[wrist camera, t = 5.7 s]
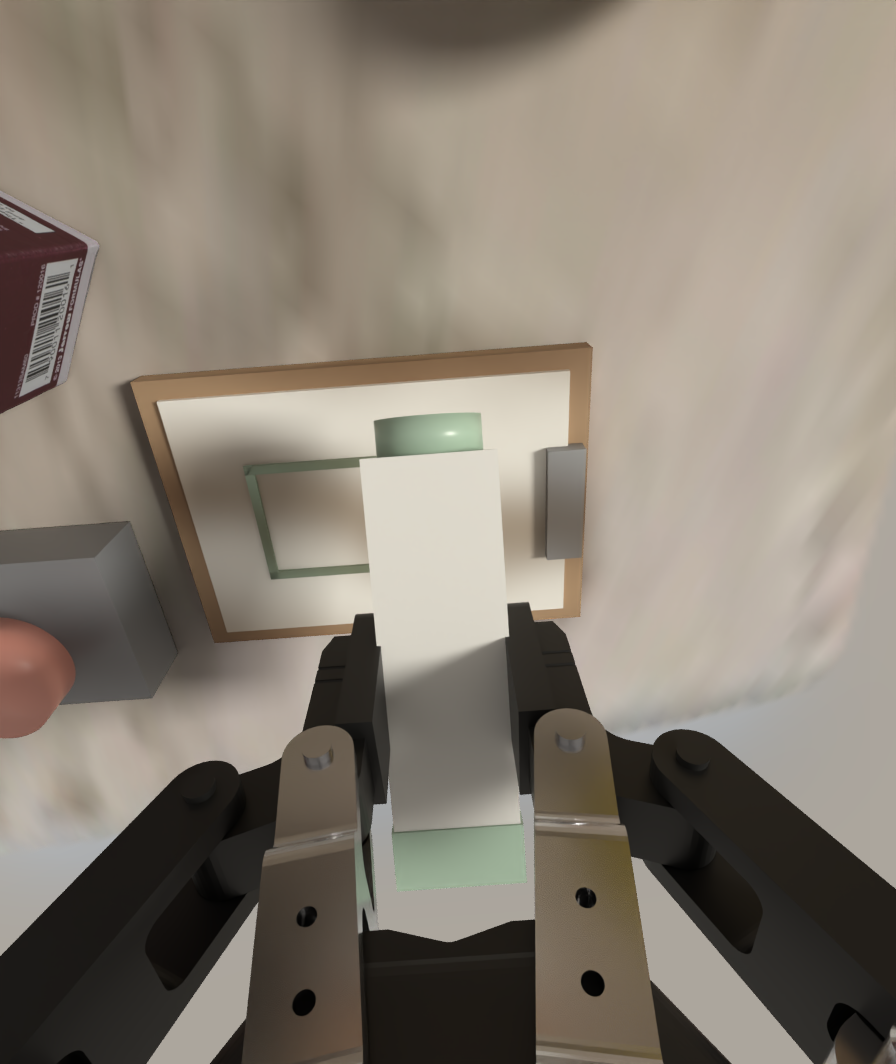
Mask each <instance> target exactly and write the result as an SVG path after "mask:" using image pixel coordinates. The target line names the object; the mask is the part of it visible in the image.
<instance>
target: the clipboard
mask: <svg viewBox="0 0 896 1064" xmlns="http://www.w3.org/2000/svg"><path fill="white" fill-rule="evenodd" d="M592 351H593V347H591V346H590V345H589V344H588V343H587V342H584V343H571V344H558V345H544V346H531V347H518V348H505V349H492V350H478V351H465V352H452V353H439V354H425V355H412V356H399V357H386V358H373V359H359V360H346V361H333V362H320V363H306V364H293V365H280V366H267V367H254V368H240V369H227V370H214V371H201V372H187V373H174V374H161V375H148V376H141V377H139V378H137V379H135V380H134V381H132V382H130V383H131V386H132V389H133V393H134V396H135V399H136V402H137V405H138V408H139V411H140V414H141V417H142V420H143V423H144V427H145V430H146V433H147V436H148V439H149V442H150V445H151V448H152V451H153V454H154V457H155V461H156V464H157V467H158V470H159V473H160V476H161V479H162V482H163V485H164V488H165V491H166V495H167V498H168V501H169V504H170V507H171V510H172V513H173V516H174V519H175V522H176V526H177V529H178V532H179V535H180V538H181V541H182V544H183V547H184V550H185V553H186V556H187V560H188V563H189V566H190V569H191V572H192V575H193V578H194V581H195V584H196V587H197V590H198V594H199V597H200V600H201V603H202V606H203V609H204V612H205V615H206V618H207V621H208V624H209V628H210V631H211V634H212V637H213V640H214V643H221V642H235V641H249V640H263V639H277V638H291V637H305V636H319V635H333V634H347V633H352V628H353V623H354V618H355V615H356V614H365V613H374V612H373V601H372V591H371V580H370V569H369V559H368V548H367V537H366V526H365V516H364V505H363V494H362V484H361V473H360V462H359V459H367V458H377V455H376V444H375V433H374V421H375V420H380V419H386V418H394V417H403V416H413V415H426V414H441V413H465V412H474V413H481V421H482V436H483V450H484V449H498V465H499V481H500V497H501V513H502V530H503V546H504V562H505V578H506V594H507V603H520V602H529V604H530V608H531V612H532V616H533V620H542V619H556V618H570V617H580V609H581V588H582V566H583V545H584V523H585V502H586V480H587V458H588V437H589V415H590V394H591V372H592Z"/></svg>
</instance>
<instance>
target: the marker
mask: <svg viewBox="0 0 896 1064" xmlns="http://www.w3.org/2000/svg"><path fill="white" fill-rule="evenodd" d="M374 433H375V444H376V455H377V458H367V459H359V462H360V473H361V484H362V494H363V505H364V516H365V526H366V537H367V548H368V559H369V569H370V580H371V591H372V601H373V612H374V623H375V633H376V644H377V646H381V654H382V665H383V676H384V686H385V697H386V708H387V719H388V729H389V740H390V762H389V783H390V793H391V804H392V815H393V828H392V843H393V853H394V864H395V875H396V884H397V891H411V890H426V889H441V888H455V887H470V886H484V885H499V884H512V883H513V884H514V883H526V882H527V878H526V862H525V846H524V829H523V821H522V816H521V811H520V804H519V788H518V779H517V773H516V766H515V760H514V753H513V747H512V739H511V723H510V707H509V691H508V675H507V659H506V643H505V637H509V626H508V610H507V594H506V578H505V562H504V546H503V530H502V513H501V497H500V481H499V465H498V449H484V450H483V436H482V421H481V413H474V412H465V413H441V414H426V415H413V416H403V417H394V418H386V419H380V420H375V421H374Z"/></svg>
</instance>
